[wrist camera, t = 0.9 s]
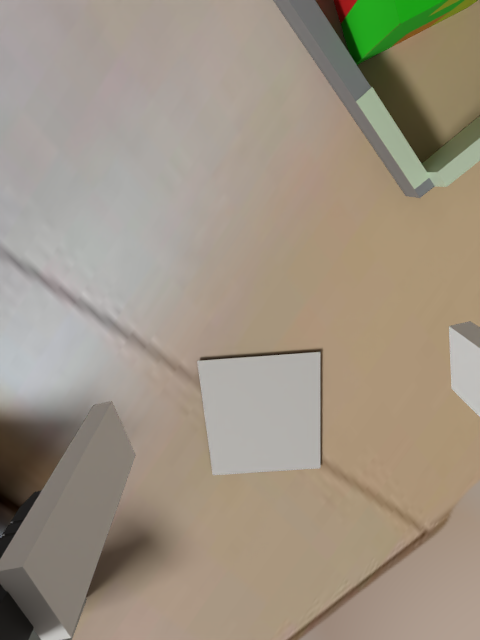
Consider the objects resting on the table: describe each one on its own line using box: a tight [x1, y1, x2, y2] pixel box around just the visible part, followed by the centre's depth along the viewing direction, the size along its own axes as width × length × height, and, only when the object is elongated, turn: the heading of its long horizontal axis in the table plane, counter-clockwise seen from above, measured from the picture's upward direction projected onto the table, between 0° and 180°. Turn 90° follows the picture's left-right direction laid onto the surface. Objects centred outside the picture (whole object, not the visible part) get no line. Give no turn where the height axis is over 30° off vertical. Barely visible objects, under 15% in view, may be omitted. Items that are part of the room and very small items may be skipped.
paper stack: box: [197, 352, 320, 475], centre depth 47 cm, size 23×25×1 cm
